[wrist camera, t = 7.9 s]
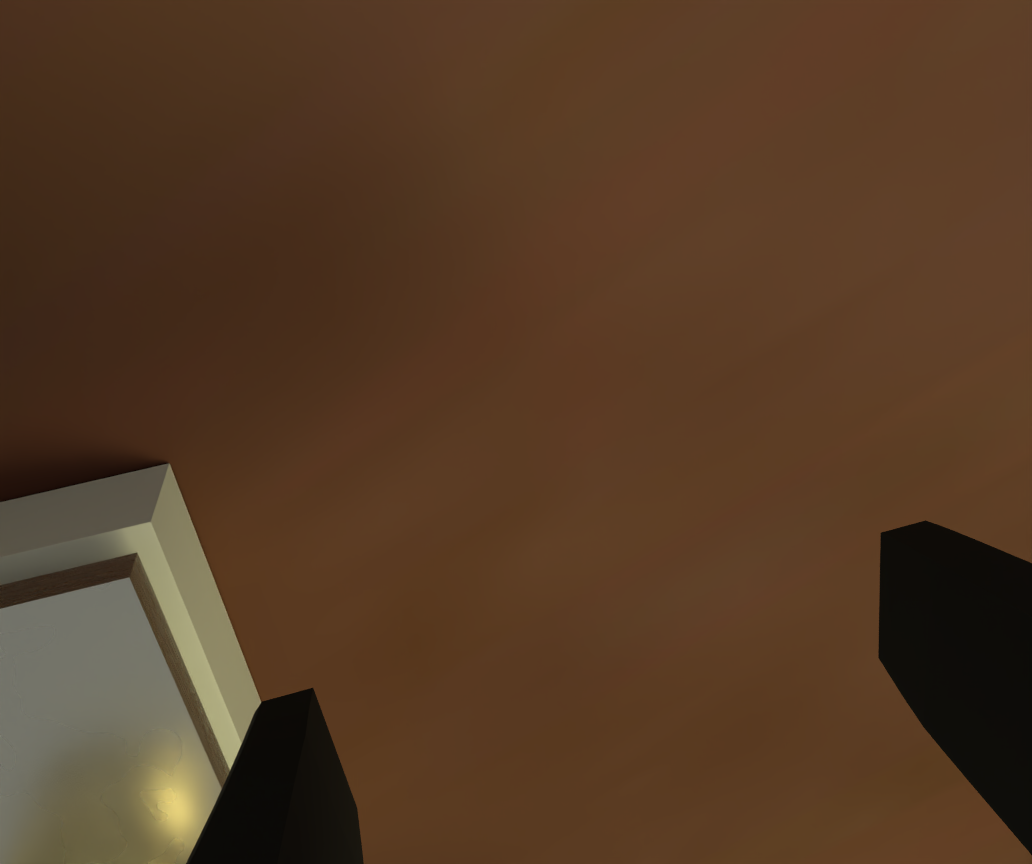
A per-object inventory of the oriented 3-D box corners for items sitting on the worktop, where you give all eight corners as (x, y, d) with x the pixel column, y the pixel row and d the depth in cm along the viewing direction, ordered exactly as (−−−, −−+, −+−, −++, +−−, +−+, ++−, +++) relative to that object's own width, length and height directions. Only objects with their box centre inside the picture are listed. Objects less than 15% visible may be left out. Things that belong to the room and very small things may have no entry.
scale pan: (307, 928, 22) (306, 983, 21) (-15, 1022, 21) (-36, 1085, 20) (142, 534, 17) (129, 577, 15) (-294, 638, 16) (-346, 692, 15)
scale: (317, 847, 24) (317, 1028, 20) (-76, 958, 23) (-163, 1173, 19) (169, 463, 19) (126, 597, 14) (-353, 583, 18) (-564, 766, 13)
